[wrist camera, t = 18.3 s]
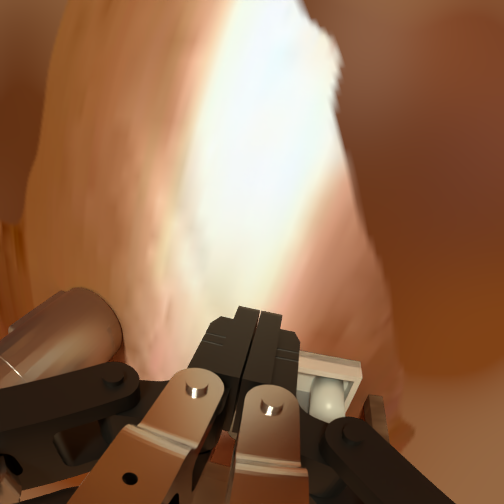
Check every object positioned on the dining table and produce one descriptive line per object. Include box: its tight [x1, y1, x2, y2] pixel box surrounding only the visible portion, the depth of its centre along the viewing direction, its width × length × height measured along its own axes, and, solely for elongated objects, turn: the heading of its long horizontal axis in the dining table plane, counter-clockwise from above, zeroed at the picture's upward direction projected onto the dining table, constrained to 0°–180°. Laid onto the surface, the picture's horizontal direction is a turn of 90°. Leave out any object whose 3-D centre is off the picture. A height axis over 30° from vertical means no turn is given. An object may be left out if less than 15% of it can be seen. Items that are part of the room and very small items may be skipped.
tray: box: [228, 350, 362, 440], centre depth 28 cm, size 12×10×7 cm
